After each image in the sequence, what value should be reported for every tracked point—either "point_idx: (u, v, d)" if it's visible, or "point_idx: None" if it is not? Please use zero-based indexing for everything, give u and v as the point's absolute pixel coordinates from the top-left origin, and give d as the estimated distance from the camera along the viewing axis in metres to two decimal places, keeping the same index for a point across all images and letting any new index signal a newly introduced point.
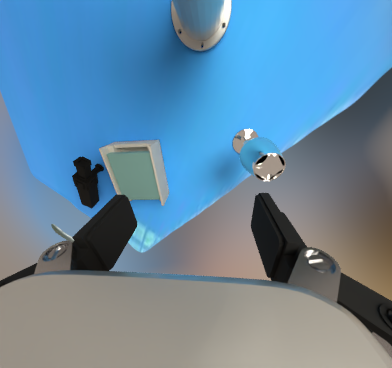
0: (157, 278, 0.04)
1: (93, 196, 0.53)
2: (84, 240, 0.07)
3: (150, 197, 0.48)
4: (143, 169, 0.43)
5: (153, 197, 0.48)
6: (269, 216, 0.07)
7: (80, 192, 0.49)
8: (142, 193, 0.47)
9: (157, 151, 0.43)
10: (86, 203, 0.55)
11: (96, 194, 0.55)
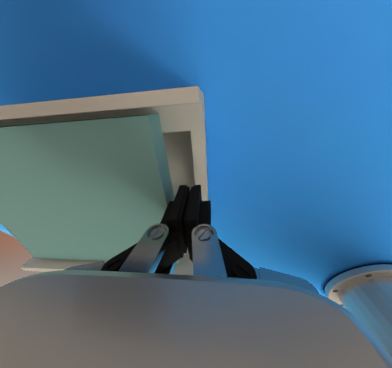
0: (157, 278, 0.04)
1: None
2: (176, 223, 0.08)
3: (22, 238, 0.14)
4: (120, 240, 0.13)
5: (29, 245, 0.14)
6: (189, 202, 0.09)
7: None
8: (19, 218, 0.13)
9: None
10: None
11: None
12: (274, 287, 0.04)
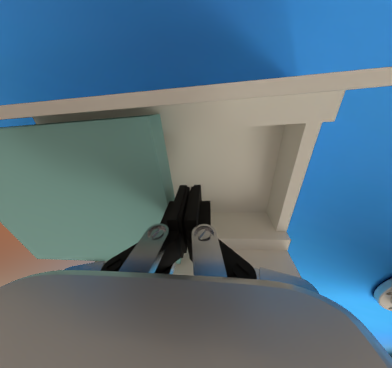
0: (157, 278, 0.04)
1: None
2: (176, 223, 0.08)
3: (23, 238, 0.14)
4: (121, 240, 0.13)
5: (30, 245, 0.14)
6: (189, 202, 0.09)
7: None
8: (20, 219, 0.13)
9: None
10: None
11: None
12: (274, 287, 0.04)
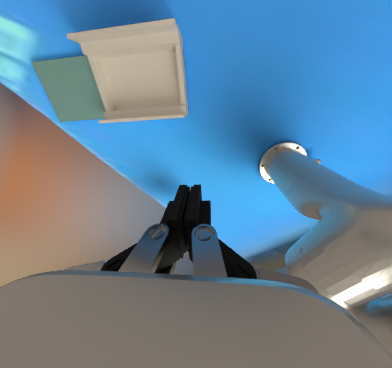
0: (157, 278, 0.04)
1: None
2: (176, 223, 0.08)
3: (56, 108, 0.38)
4: (91, 106, 0.37)
5: (58, 112, 0.39)
6: (189, 202, 0.09)
7: None
8: (57, 97, 0.37)
9: None
10: None
11: None
12: (274, 287, 0.04)
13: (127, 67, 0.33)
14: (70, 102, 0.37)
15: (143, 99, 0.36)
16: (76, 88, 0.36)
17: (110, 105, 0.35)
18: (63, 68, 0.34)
